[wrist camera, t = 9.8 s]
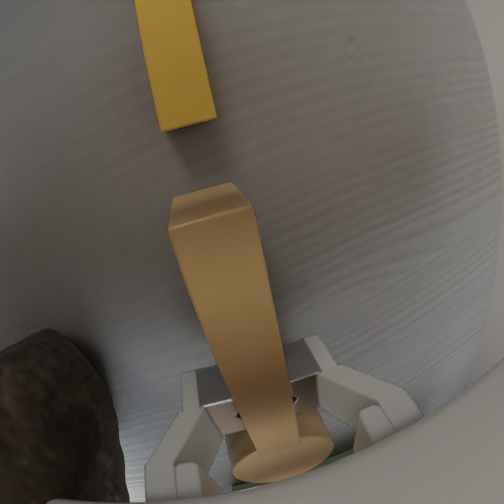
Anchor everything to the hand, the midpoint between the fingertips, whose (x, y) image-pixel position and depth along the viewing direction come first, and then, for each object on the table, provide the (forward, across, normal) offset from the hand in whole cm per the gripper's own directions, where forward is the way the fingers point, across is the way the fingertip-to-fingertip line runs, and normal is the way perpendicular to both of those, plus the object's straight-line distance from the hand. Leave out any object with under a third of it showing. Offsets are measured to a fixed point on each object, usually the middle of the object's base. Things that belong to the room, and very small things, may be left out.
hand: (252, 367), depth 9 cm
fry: (+2, 0, -11) cm, 11 cm away
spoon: (+1, 0, +1) cm, 1 cm away
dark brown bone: (+2, +19, -1) cm, 19 cm away
